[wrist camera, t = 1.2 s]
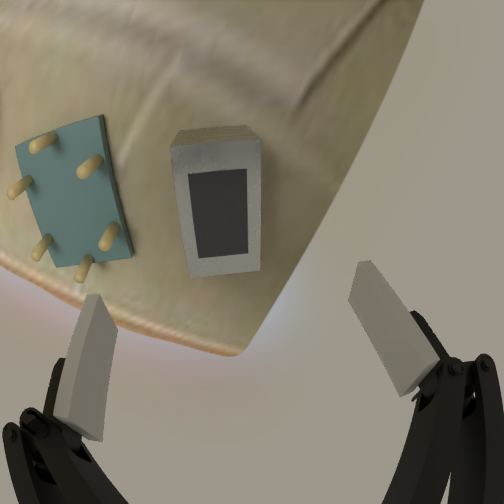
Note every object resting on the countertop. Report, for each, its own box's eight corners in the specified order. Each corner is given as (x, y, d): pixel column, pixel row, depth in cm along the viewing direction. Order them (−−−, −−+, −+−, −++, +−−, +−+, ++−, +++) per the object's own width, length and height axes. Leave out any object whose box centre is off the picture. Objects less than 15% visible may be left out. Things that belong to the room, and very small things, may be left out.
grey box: (179, 130, 22) (169, 147, 16) (246, 125, 23) (261, 140, 17) (191, 234, 28) (189, 278, 22) (247, 229, 29) (260, 271, 23)
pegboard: (20, 143, 18) (-5, 157, 14) (102, 114, 19) (82, 122, 15) (59, 261, 27) (45, 287, 23) (133, 251, 28) (125, 279, 24)
